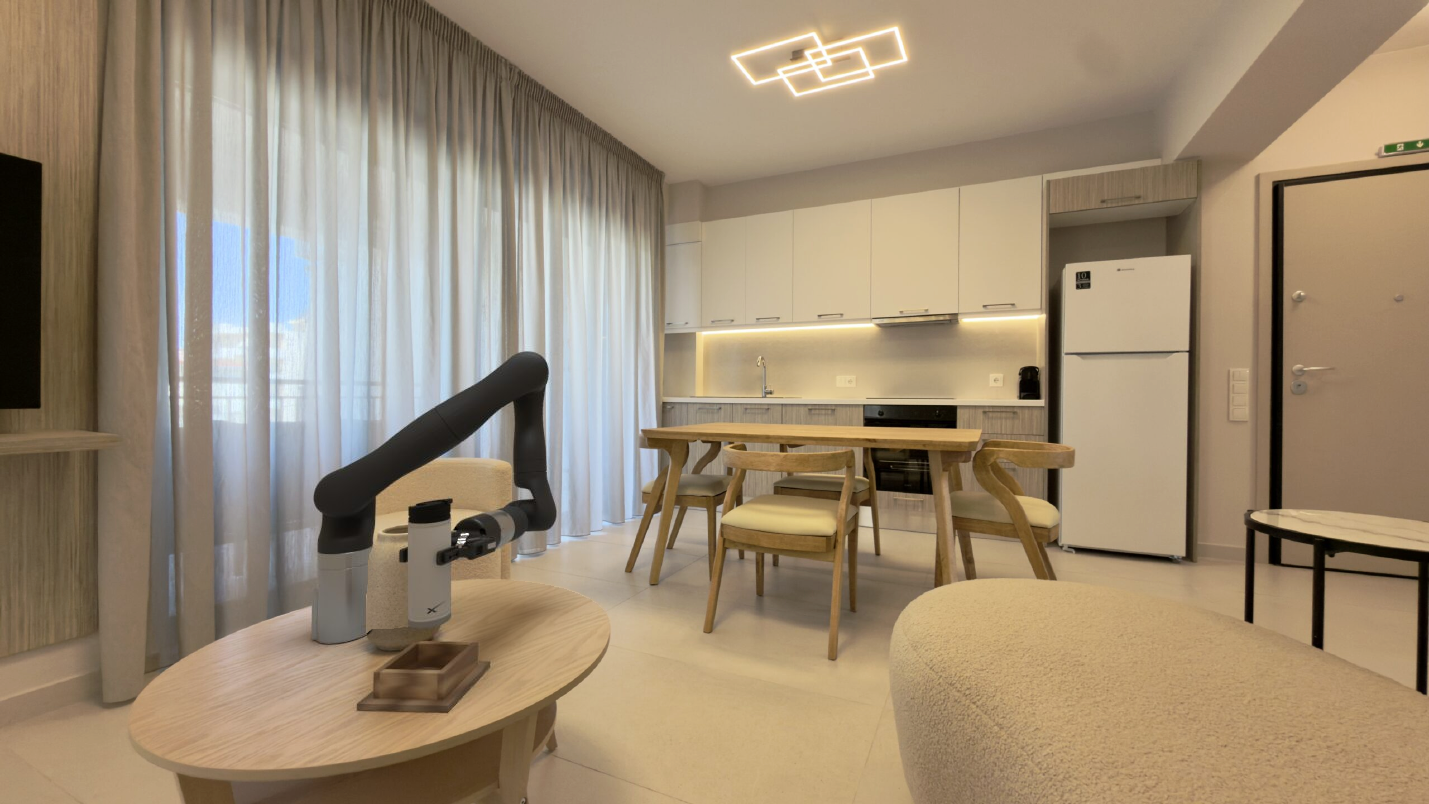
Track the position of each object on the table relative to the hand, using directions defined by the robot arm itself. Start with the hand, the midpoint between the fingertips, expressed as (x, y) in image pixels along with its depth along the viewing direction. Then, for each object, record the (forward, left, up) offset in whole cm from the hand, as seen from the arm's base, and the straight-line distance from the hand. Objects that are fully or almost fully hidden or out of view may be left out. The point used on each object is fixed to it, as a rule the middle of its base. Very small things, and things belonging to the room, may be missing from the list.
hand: (419, 557), depth 86 cm
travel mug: (+1, +2, -11) cm, 11 cm away
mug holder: (0, +2, -22) cm, 22 cm away
